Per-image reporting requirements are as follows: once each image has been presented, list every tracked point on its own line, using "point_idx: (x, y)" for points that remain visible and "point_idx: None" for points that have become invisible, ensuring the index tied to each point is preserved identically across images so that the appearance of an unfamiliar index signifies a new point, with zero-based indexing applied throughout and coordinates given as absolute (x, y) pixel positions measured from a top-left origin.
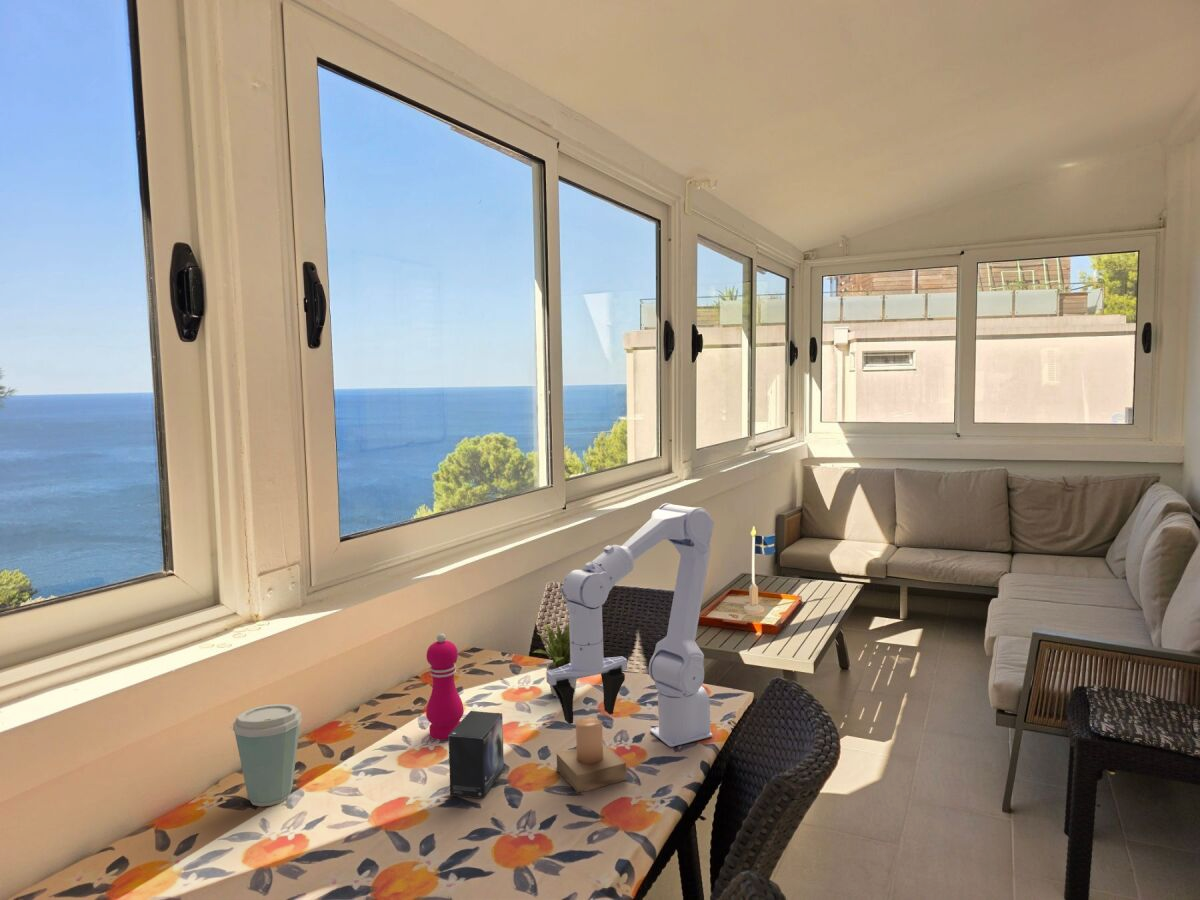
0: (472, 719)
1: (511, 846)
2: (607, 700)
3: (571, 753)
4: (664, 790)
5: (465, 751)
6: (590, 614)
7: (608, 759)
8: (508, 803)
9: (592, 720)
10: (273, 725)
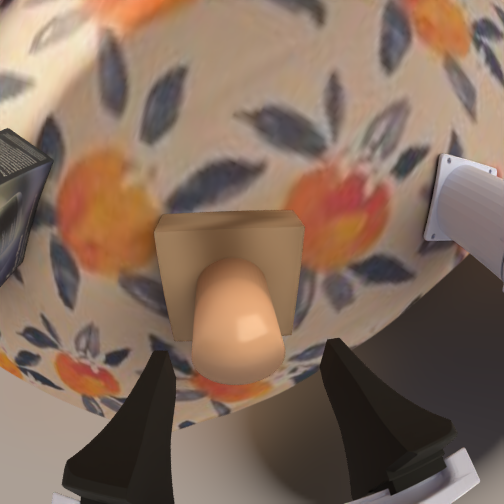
0: None
1: (73, 371)
2: (338, 390)
3: (193, 250)
4: (315, 351)
5: None
6: None
7: None
8: (58, 292)
9: (261, 344)
10: None
